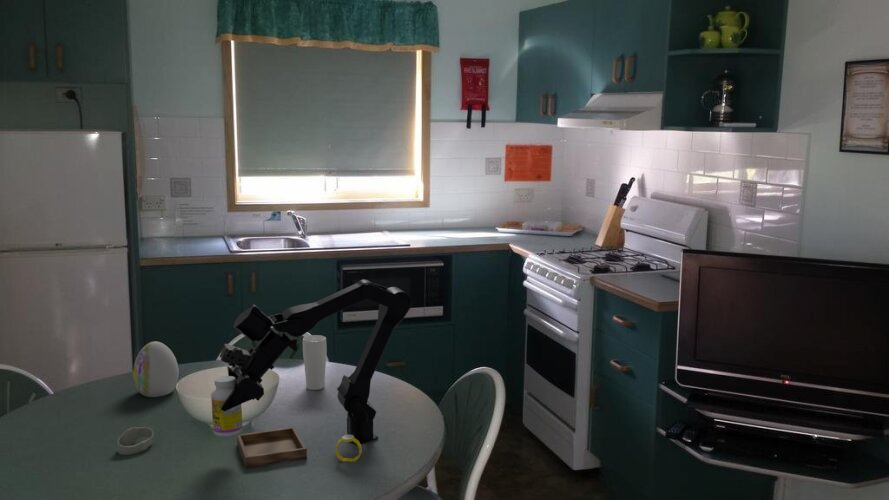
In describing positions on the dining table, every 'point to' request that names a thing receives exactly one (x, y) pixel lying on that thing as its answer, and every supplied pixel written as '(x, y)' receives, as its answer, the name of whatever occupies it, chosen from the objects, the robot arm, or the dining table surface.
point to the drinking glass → (314, 361)
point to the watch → (348, 439)
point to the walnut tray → (271, 447)
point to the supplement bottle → (225, 420)
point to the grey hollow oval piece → (134, 440)
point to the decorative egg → (155, 370)
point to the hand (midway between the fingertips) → (220, 405)
